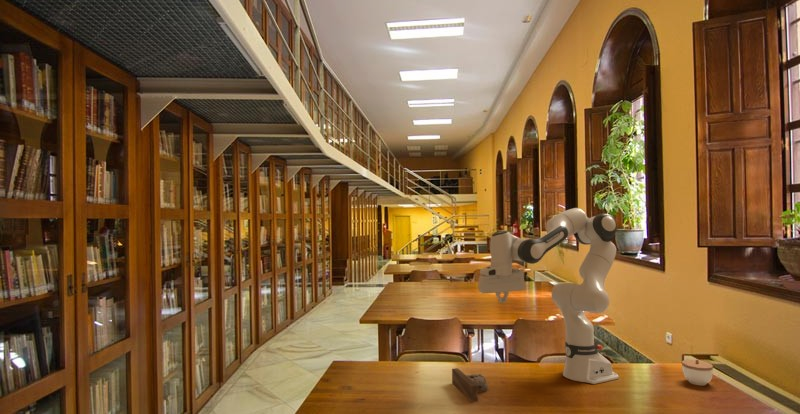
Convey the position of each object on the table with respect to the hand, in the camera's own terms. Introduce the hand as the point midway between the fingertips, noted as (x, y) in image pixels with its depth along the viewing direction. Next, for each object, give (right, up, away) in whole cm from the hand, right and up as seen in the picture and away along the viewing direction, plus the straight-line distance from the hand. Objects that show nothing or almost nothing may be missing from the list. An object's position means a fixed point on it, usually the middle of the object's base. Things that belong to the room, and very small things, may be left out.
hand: (502, 302), depth 196 cm
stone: (-13, -33, -10) cm, 37 cm away
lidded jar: (+78, -32, -7) cm, 84 cm away
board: (-18, -32, -14) cm, 40 cm away
